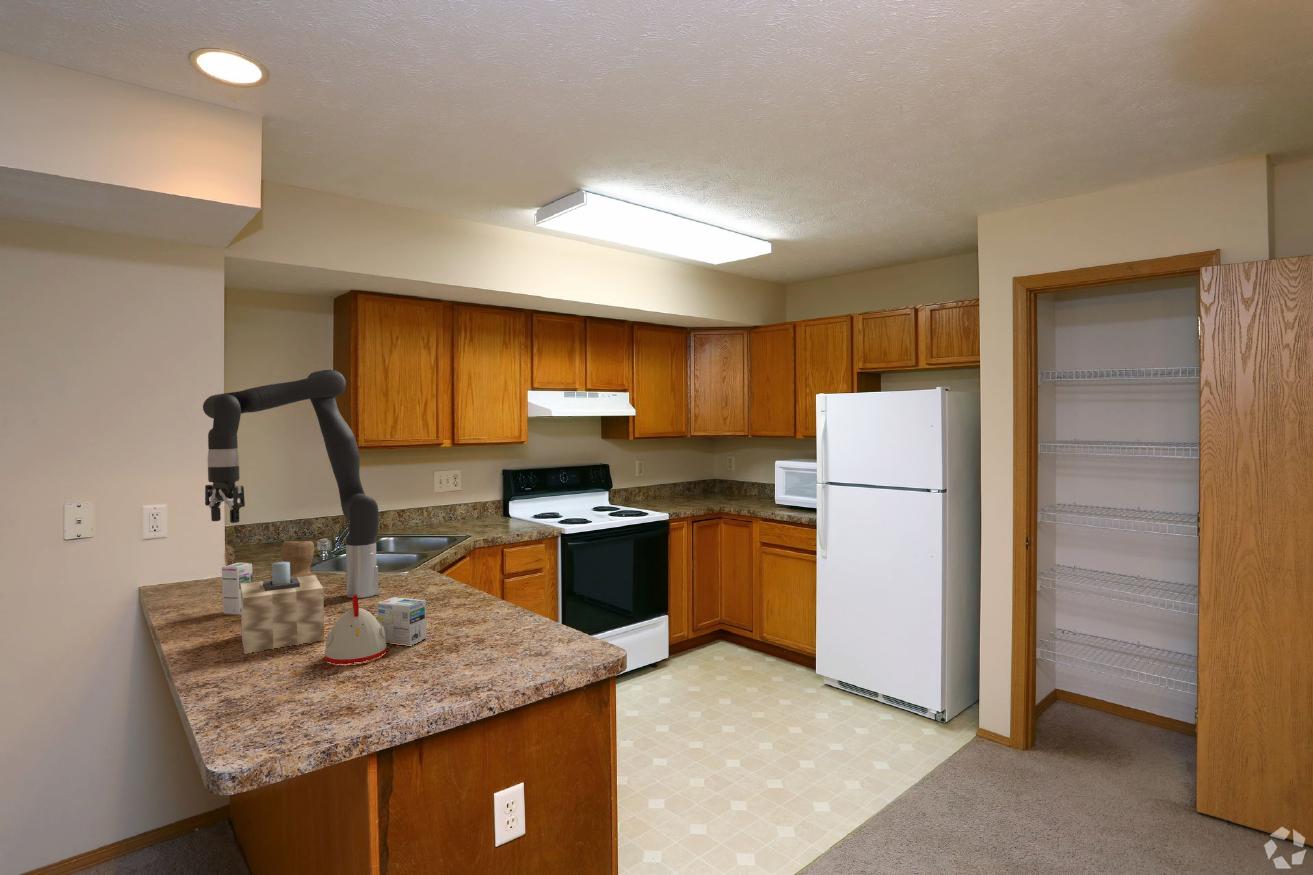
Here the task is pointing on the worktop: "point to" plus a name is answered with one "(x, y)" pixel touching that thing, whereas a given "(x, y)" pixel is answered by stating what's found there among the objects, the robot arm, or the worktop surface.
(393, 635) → the light bulb box
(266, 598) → the birch block
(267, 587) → the rubber collar
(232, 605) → the syrup box
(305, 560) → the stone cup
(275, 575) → the dowel
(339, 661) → the kitchen timer
